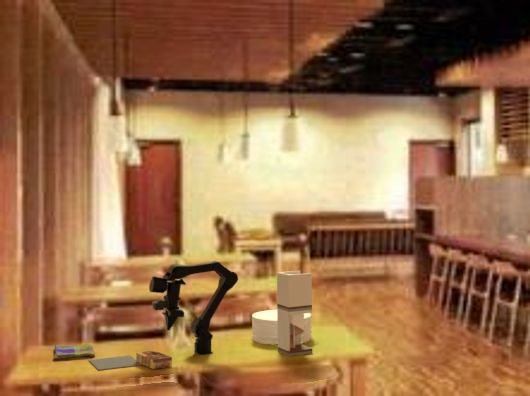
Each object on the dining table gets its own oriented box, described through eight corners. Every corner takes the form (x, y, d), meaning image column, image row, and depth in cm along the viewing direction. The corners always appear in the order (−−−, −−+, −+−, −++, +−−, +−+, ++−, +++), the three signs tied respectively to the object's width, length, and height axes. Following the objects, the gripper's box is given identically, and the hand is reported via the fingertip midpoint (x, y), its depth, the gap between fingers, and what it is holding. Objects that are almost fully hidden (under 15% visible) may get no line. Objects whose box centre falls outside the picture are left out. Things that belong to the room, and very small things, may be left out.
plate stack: (312, 345, 361) (312, 320, 361) (251, 345, 362) (251, 320, 361) (310, 332, 389) (310, 309, 389) (253, 333, 390) (253, 309, 389)
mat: (130, 356, 344) (130, 355, 344) (141, 365, 327) (141, 364, 327) (88, 360, 336) (88, 360, 336) (98, 370, 320) (98, 369, 320)
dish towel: (93, 347, 364) (93, 341, 364) (95, 359, 341) (95, 353, 340) (54, 349, 360) (54, 343, 360) (53, 362, 336) (52, 356, 336)
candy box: (135, 362, 332) (152, 369, 319) (135, 352, 332) (152, 358, 319) (154, 360, 337) (172, 367, 324) (155, 350, 337) (172, 356, 324)
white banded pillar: (289, 356, 340) (288, 275, 338) (277, 351, 349) (276, 272, 348) (312, 353, 345) (311, 273, 344) (300, 348, 354) (299, 270, 353)
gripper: (148, 289, 347) (143, 325, 346) (161, 295, 330) (156, 333, 329) (172, 291, 351) (168, 326, 351) (186, 297, 334) (181, 334, 334)
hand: (168, 330), depth 341 cm, fingers closed
